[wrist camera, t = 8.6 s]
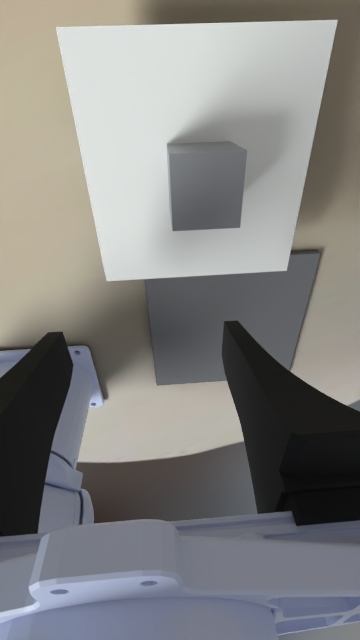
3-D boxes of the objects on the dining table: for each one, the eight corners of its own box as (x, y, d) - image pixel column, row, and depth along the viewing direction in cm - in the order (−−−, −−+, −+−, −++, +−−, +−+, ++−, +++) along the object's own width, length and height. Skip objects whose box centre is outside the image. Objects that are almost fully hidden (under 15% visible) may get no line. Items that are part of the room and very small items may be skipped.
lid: (107, 276, 18) (98, 311, 15) (60, 30, 12) (26, 5, 9) (283, 266, 19) (308, 298, 16) (330, 22, 12) (388, -3, 9)
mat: (156, 381, 30) (156, 385, 29) (143, 260, 22) (143, 263, 21) (286, 372, 30) (287, 375, 30) (317, 250, 22) (320, 253, 22)
